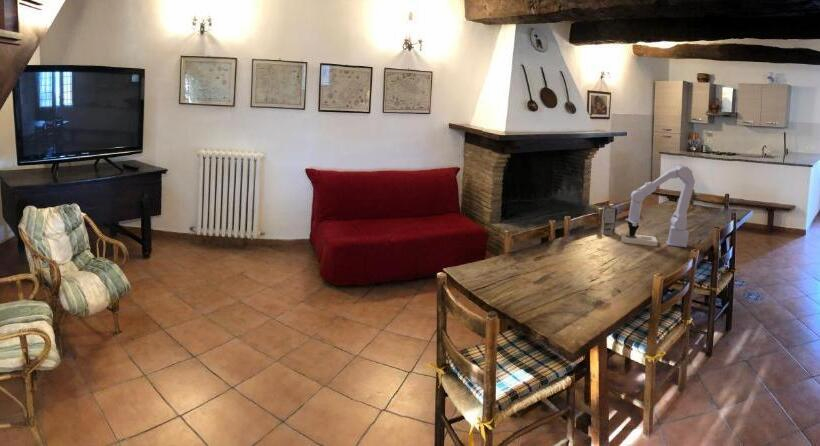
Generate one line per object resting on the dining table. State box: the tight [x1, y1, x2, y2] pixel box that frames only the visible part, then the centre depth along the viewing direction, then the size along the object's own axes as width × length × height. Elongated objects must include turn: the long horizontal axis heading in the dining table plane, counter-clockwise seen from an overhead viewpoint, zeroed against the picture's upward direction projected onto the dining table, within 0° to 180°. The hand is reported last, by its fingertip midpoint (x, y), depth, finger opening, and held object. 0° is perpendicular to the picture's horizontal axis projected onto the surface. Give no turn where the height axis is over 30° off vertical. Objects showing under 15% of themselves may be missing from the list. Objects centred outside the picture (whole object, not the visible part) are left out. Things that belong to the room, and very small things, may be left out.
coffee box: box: [600, 204, 619, 237], centre depth 297 cm, size 9×6×16 cm
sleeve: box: [627, 228, 637, 238], centre depth 284 cm, size 4×4×6 cm
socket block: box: [620, 232, 658, 247], centre depth 284 cm, size 18×11×2 cm, turn 72°
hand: (631, 235), depth 284 cm, fingers closed on sleeve, 4 cm apart
